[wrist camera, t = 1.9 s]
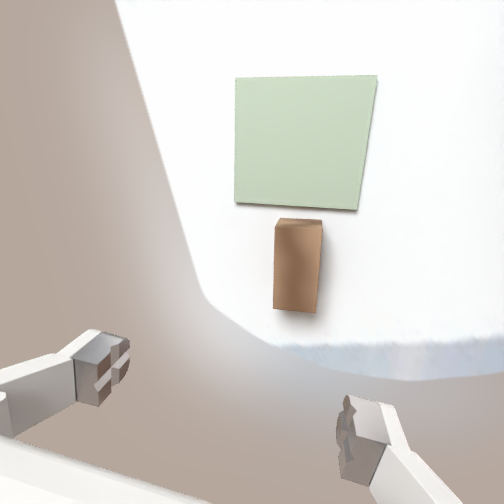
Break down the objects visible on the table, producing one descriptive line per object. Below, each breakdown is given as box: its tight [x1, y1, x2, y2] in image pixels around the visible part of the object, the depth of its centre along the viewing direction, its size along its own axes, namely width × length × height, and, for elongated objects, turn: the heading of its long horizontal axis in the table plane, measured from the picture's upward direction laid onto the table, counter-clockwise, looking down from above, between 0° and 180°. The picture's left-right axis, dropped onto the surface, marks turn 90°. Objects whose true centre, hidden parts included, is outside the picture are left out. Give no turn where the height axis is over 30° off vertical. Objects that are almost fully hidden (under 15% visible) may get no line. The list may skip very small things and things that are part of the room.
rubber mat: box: [234, 75, 378, 210], centre depth 28 cm, size 13×12×1 cm
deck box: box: [273, 218, 322, 313], centre depth 31 cm, size 4×9×4 cm, turn 0°
